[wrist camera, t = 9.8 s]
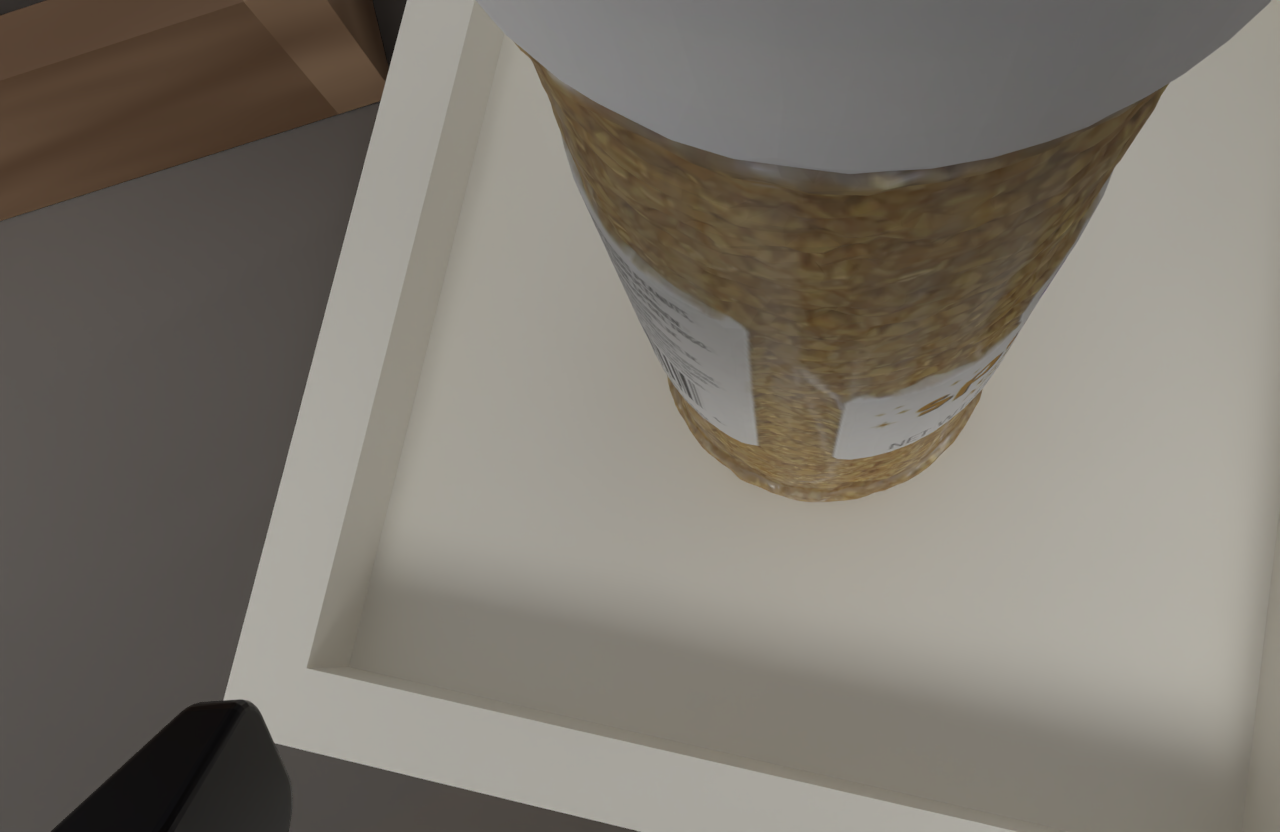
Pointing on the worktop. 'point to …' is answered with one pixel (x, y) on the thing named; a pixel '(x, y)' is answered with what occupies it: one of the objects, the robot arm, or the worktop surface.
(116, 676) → the worktop surface
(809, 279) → the sprinkles bottle
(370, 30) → the walnut holder
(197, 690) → the worktop surface
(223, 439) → the worktop surface
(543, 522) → the cream tray
